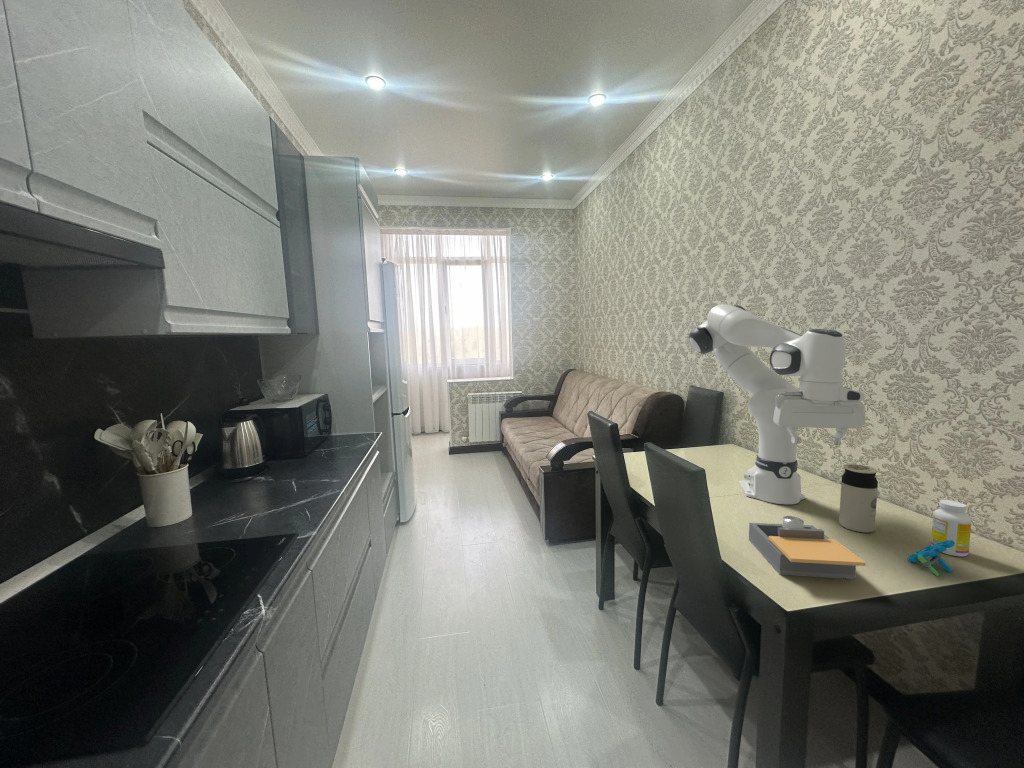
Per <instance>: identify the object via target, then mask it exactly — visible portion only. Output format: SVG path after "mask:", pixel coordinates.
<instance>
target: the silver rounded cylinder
mask: <svg viewBox="0 0 1024 768" xmlns="http://www.w3.org/2000/svg"><path fill="white" fill-rule="evenodd" d="M804 523H805V522H804V520H803V519H801V518H799V517H797V516H794V515H793V516H792V515H785V516H783V517H782V524H783V527H785V528H803V527H804V525H805V524H804Z"/></svg>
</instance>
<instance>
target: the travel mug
mask: <svg viewBox="0 0 1024 768" xmlns="http://www.w3.org/2000/svg"><path fill="white" fill-rule="evenodd" d="M842 467H843V468H844V473H843V474H842V475H841V480H840V481H841V483H840V501H839V514H838V515H839V516H838V517H839V519H838V524H839V525H840V526H841V527H843V528H845V529H847V530H850V531H853V532H858V533H865V534H866V533H869V534H870V533H874V532H875V528H876V516H877V502H878V488H879V480H878V479H877V477H876V475H877V473H878V472H879V471H878V469H877V468H875V467H872V466H868V465H863V464H854V463H847V464H844V465H843V466H842Z"/></svg>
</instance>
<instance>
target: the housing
mask: <svg viewBox="0 0 1024 768" xmlns="http://www.w3.org/2000/svg"><path fill="white" fill-rule="evenodd" d="M748 525H749V527H748V541H749V542H750V543H751V544H752V545H753V547H755V548H756V550H757V551H758V552H759V554H761V555H762V557H764V558H765V560H766V561H767V563H769V565H770V566H771V567H772V568H773V569H774V570H775V571H776V572H777V574H778V575H784V576H798V577H815V578H828V579H829V578H830V579H831V578H832V579H843V578H844V580H845V578H846V579H847V580H856V572H857V571H856V569H857V568H856V567H857V566H854V565H837V564H820V563H802V562H791V561H790V560H789V559H788V558H787V557H786V556H785V555H784V554H783V553H782V552H781V551H780V550H779V549H778V548H777V547H776V546H775V545H774V544H773V543H772V542H771V541H770V540H769V539H768V537H769V536H778V527H783V523H770V522H769V523H765V522H749V523H748ZM803 528H807V529H818V528H817V527H816V526H814V525H813V524H812V525H811V524H810V525H809V524H804V527H803ZM824 539H831V537H828V535H826V534H825V533H824Z"/></svg>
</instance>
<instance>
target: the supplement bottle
mask: <svg viewBox="0 0 1024 768" xmlns="http://www.w3.org/2000/svg"><path fill="white" fill-rule="evenodd" d="M938 506H939V508H938V509H935V510H934V511H933V512H932V514H933V515H932V525H931V538H930V546H933V545H935V544H936V543H938V542H944V541H946V540H949V541H950V540H953V541H954V542H955V544H954V546H953V547H951V548H946V549H947V550H946V551H944V552H941V553H942V554H945V555H949V556H955V557H966V556H968V555H969V553H970V543H971V531H972V518H971V517H970V516H969V515H968V514H966V511H967V505H966V504H965V503H963V502H959V501H956V500H955V501H954V500H950V499H940V500H939V504H938Z"/></svg>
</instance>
